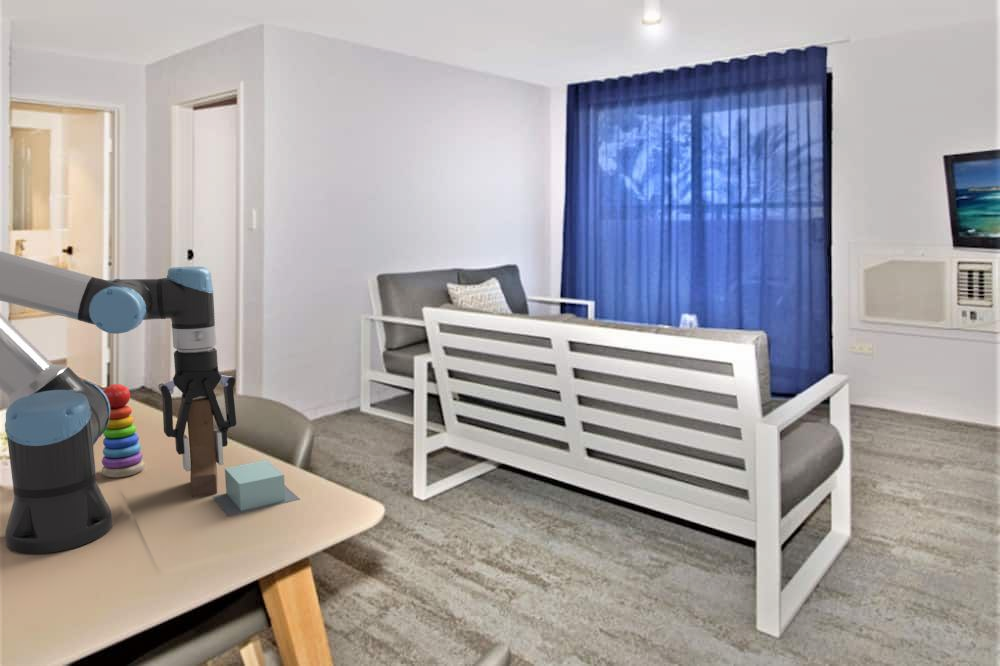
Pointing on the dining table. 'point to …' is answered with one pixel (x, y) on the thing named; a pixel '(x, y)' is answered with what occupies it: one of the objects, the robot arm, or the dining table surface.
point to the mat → (233, 509)
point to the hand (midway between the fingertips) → (203, 465)
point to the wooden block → (202, 448)
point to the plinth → (254, 484)
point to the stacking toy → (120, 436)
